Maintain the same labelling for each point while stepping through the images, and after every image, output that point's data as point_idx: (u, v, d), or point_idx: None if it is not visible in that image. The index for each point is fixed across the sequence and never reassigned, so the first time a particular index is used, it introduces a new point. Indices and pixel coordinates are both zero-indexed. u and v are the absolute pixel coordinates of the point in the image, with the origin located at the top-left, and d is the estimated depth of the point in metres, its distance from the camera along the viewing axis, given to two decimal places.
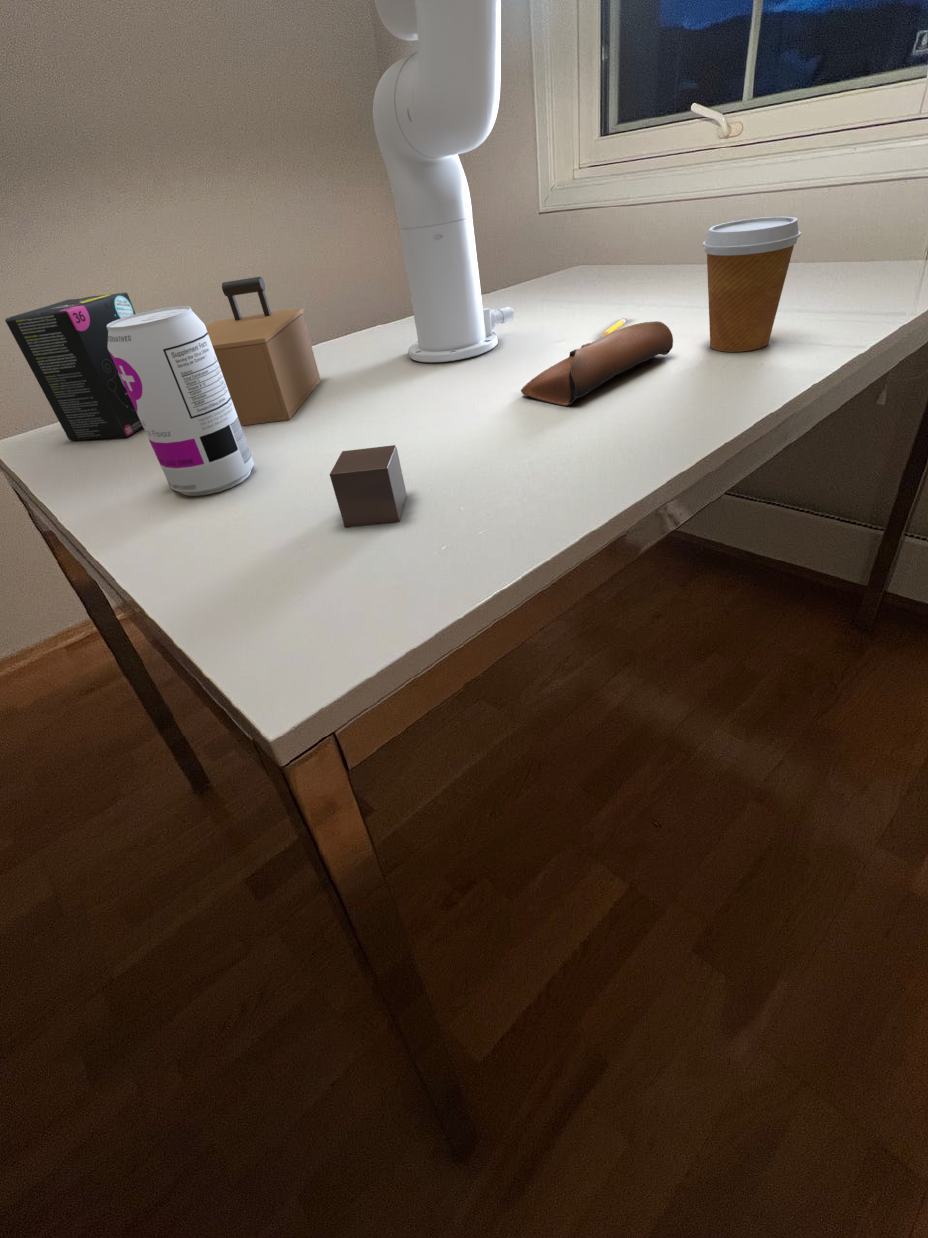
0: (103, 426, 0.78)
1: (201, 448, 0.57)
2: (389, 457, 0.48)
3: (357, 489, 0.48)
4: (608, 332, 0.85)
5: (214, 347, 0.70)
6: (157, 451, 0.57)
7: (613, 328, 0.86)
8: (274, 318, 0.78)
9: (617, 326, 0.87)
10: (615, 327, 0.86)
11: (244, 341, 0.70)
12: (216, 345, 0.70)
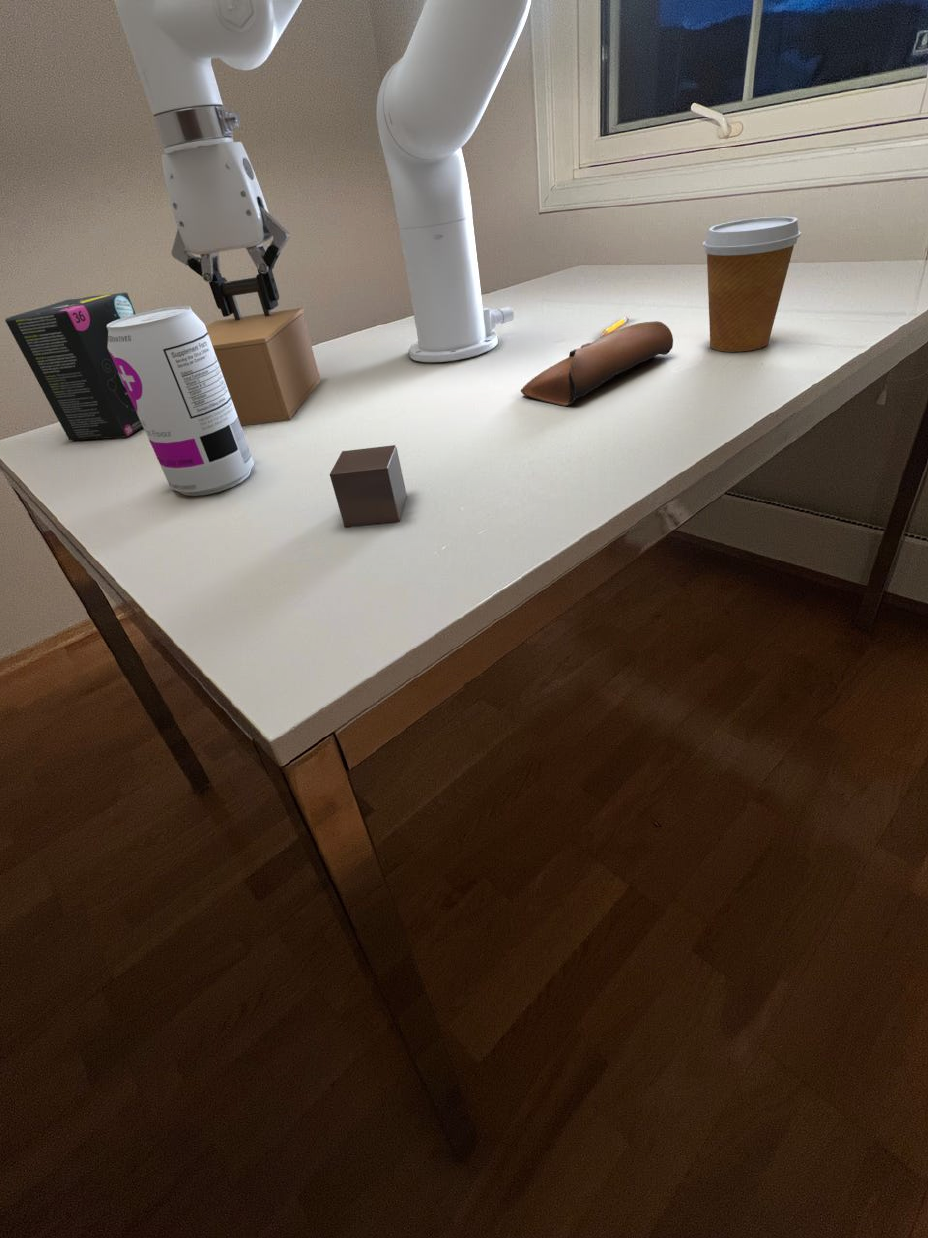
0: (103, 426, 0.78)
1: (201, 448, 0.57)
2: (389, 457, 0.48)
3: (357, 489, 0.48)
4: (608, 331, 0.85)
5: (214, 347, 0.70)
6: (157, 451, 0.57)
7: (613, 327, 0.86)
8: (274, 318, 0.78)
9: (618, 325, 0.87)
10: (615, 326, 0.86)
11: (244, 341, 0.70)
12: (216, 345, 0.70)
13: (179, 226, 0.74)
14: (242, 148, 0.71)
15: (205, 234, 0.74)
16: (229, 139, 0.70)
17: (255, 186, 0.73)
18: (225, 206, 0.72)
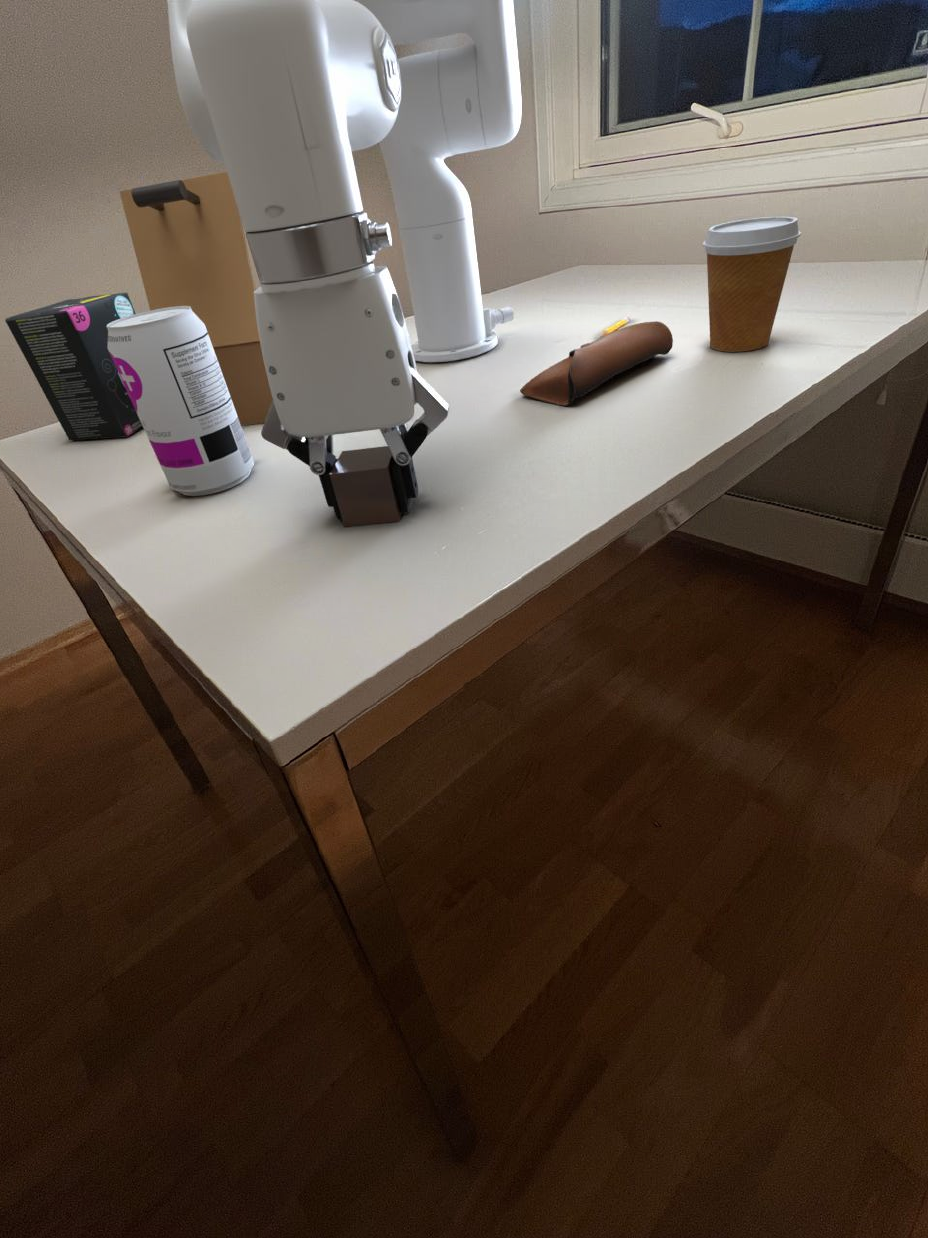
0: (103, 426, 0.78)
1: (201, 448, 0.57)
2: (389, 457, 0.48)
3: (357, 489, 0.48)
4: (608, 331, 0.85)
5: (214, 347, 0.70)
6: (157, 451, 0.57)
7: (614, 327, 0.86)
8: (219, 229, 0.66)
9: (618, 325, 0.87)
10: (616, 326, 0.86)
11: (244, 342, 0.69)
12: (216, 346, 0.70)
13: (276, 399, 0.45)
14: (389, 278, 0.42)
15: (319, 412, 0.45)
16: (372, 267, 0.41)
17: (405, 336, 0.44)
18: (357, 373, 0.43)
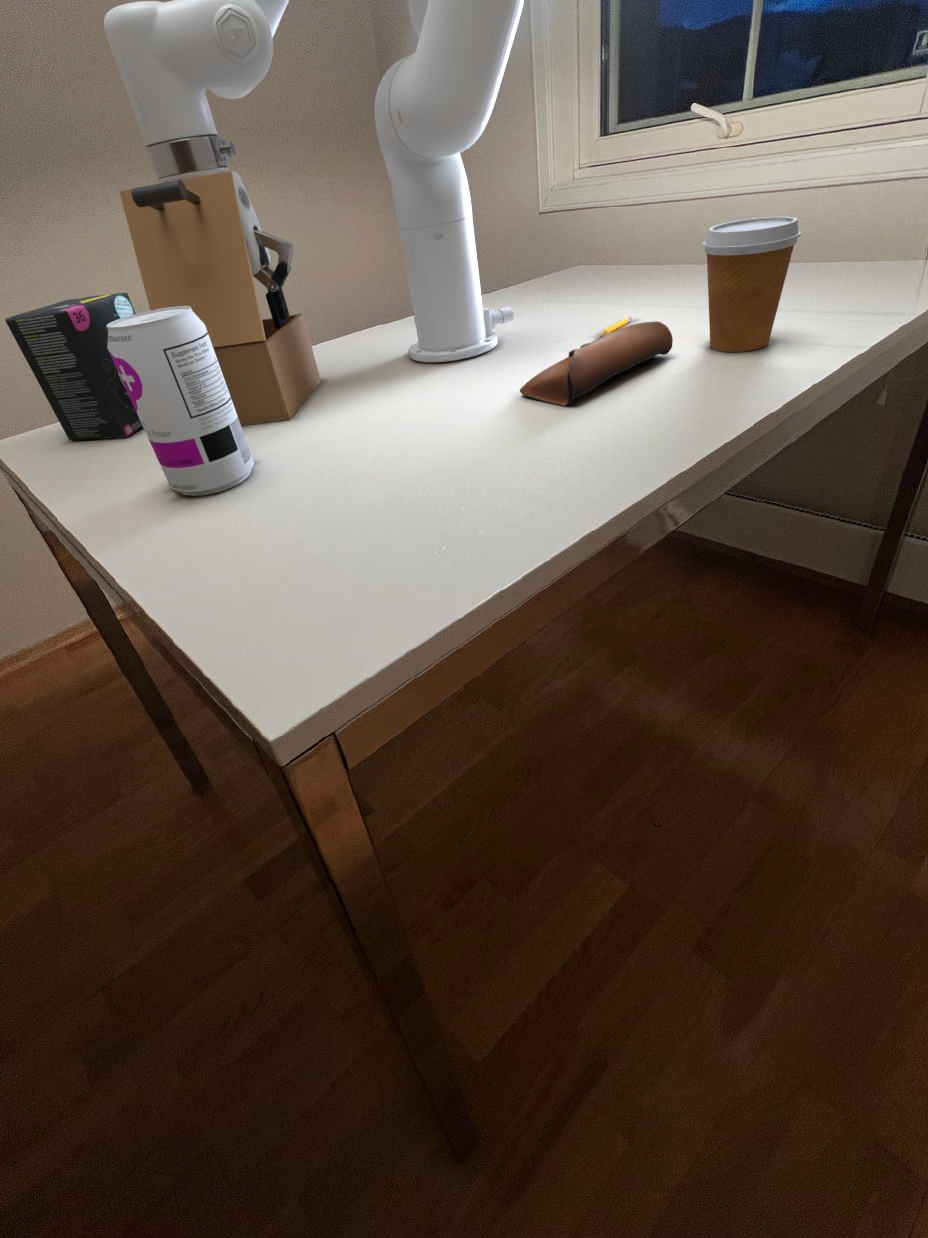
0: (103, 426, 0.78)
1: (201, 448, 0.57)
2: None
3: None
4: (607, 331, 0.85)
5: (214, 347, 0.70)
6: (157, 451, 0.57)
7: (614, 327, 0.86)
8: (219, 229, 0.66)
9: (619, 325, 0.86)
10: (616, 326, 0.86)
11: (244, 342, 0.69)
12: (216, 346, 0.70)
13: None
14: (238, 177, 0.69)
15: None
16: (224, 169, 0.68)
17: (251, 216, 0.71)
18: None
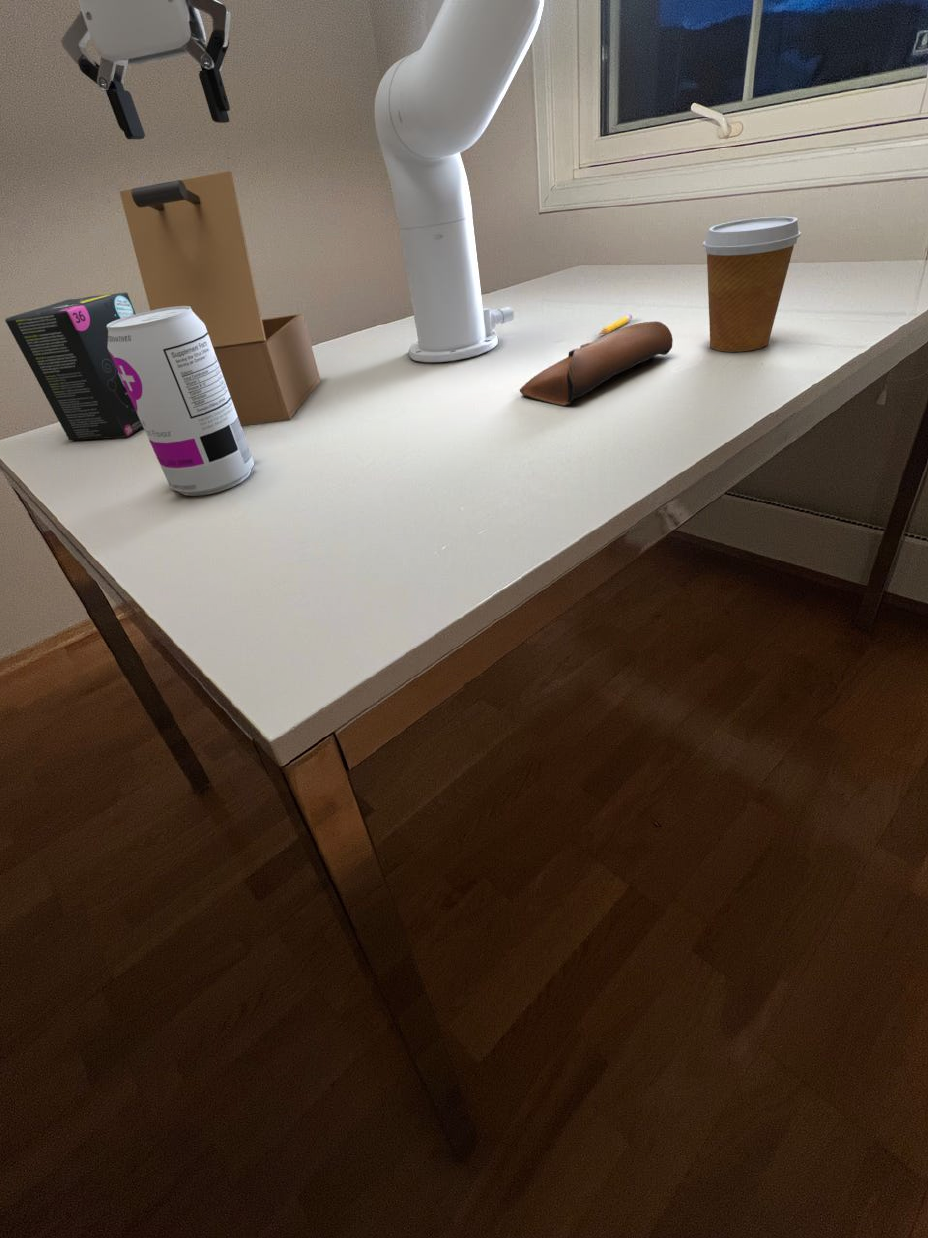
0: (103, 426, 0.78)
1: (201, 448, 0.57)
2: None
3: None
4: (607, 329, 0.84)
5: (214, 347, 0.70)
6: (157, 451, 0.57)
7: (614, 325, 0.85)
8: (219, 229, 0.66)
9: (619, 323, 0.86)
10: (617, 324, 0.86)
11: (244, 342, 0.69)
12: (216, 346, 0.70)
13: (86, 19, 0.60)
14: None
15: (118, 29, 0.60)
16: None
17: None
18: None
